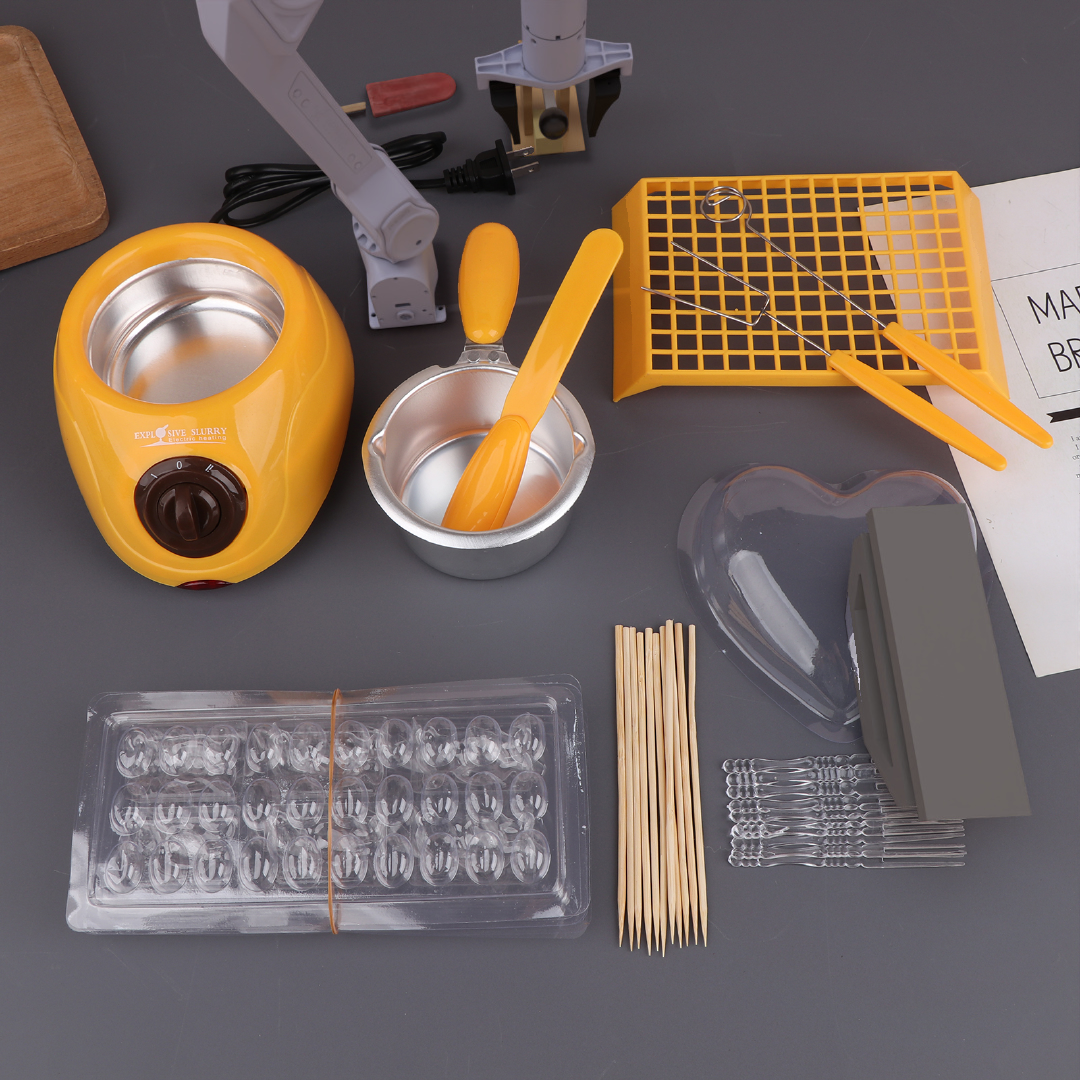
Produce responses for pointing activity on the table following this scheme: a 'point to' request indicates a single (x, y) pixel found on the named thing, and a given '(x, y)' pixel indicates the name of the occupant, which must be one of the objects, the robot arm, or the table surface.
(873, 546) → the grey stepped block
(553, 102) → the knife lever
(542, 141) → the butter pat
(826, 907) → the table surface
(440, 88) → the popsicle
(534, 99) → the wooden lever stand
